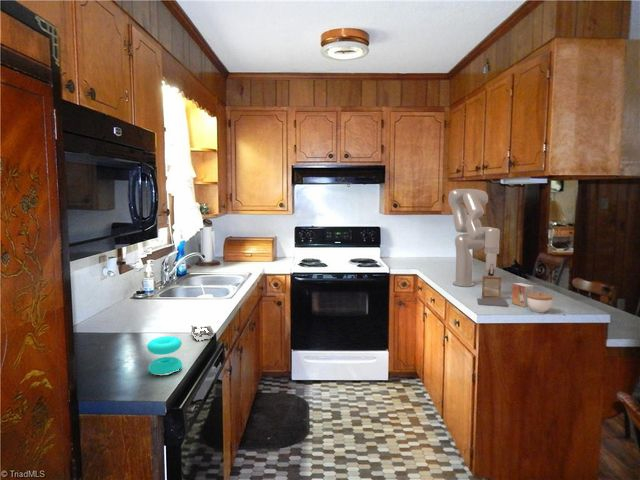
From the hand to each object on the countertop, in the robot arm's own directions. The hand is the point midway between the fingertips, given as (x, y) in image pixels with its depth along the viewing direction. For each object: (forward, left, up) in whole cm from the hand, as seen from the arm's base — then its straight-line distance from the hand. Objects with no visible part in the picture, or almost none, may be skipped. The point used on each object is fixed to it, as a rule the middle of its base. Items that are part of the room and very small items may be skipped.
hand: (490, 283), depth 236 cm
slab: (+8, 0, -7) cm, 10 cm away
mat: (+18, 0, -7) cm, 20 cm away
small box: (+18, +14, -7) cm, 24 cm away
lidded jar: (+29, +20, -7) cm, 36 cm away
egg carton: (+111, -111, -7) cm, 157 cm away
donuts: (+143, -103, -7) cm, 176 cm away
